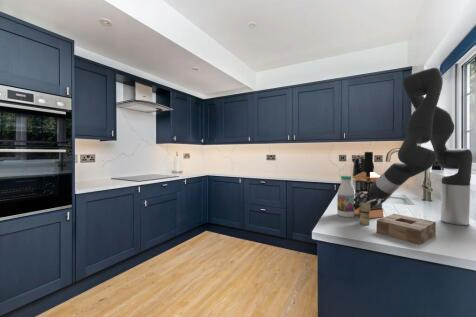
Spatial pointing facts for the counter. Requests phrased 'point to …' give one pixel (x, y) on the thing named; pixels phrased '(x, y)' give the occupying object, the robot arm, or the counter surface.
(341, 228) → the counter surface
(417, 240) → the walnut block
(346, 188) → the milk bottle
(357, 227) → the counter surface
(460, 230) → the counter surface
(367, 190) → the whiskey bottle
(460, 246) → the counter surface
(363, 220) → the oak peg
